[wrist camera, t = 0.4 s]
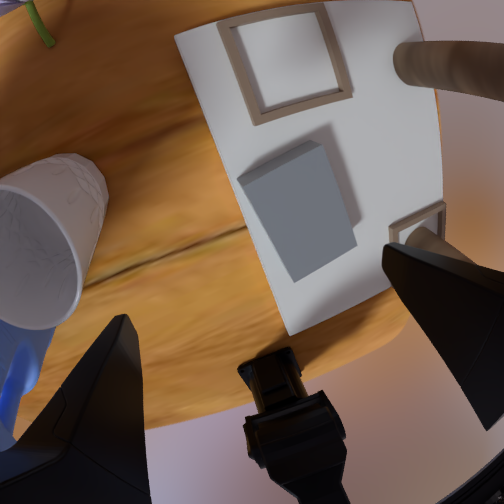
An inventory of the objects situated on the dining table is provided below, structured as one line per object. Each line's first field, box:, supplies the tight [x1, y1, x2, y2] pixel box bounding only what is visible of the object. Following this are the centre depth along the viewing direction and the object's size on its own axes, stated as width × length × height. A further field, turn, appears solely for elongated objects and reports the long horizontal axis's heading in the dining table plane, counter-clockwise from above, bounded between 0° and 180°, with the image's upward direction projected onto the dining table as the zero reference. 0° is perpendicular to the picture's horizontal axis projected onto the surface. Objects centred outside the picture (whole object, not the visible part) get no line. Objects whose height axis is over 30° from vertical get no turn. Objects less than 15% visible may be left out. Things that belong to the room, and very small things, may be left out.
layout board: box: [174, 0, 446, 336], centre depth 22 cm, size 28×20×2 cm
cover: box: [237, 140, 358, 283], centre depth 22 cm, size 9×6×2 cm, turn 26°
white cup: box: [0, 153, 109, 330], centre depth 14 cm, size 8×8×10 cm
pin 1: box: [393, 41, 504, 102], centre depth 13 cm, size 4×4×13 cm
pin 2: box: [405, 227, 477, 265], centre depth 22 cm, size 4×4×13 cm
